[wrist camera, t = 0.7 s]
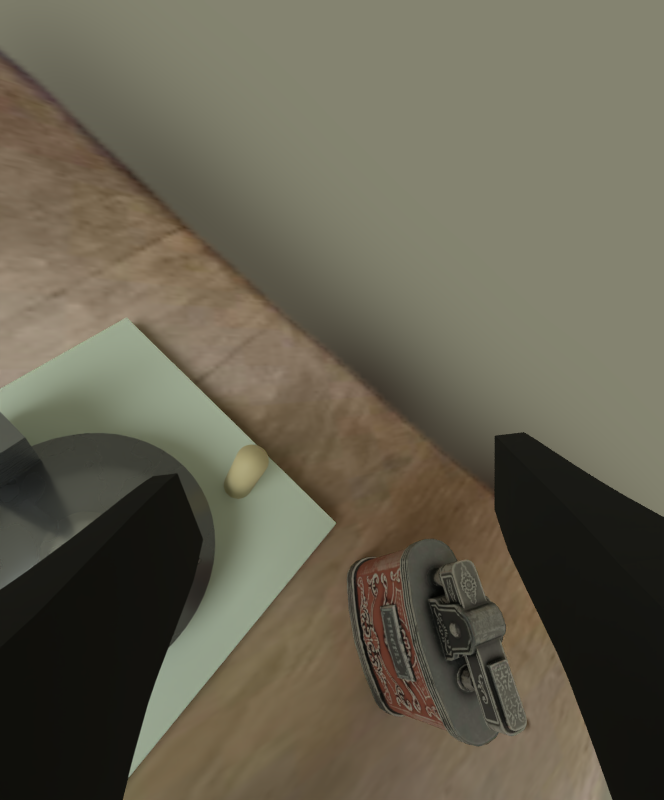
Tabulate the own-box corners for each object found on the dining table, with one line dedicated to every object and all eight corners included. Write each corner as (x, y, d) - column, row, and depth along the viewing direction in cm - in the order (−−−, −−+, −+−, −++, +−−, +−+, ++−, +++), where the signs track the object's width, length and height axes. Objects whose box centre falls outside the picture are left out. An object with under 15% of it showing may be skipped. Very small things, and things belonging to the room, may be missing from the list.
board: (52, 865, 17) (13, 953, 13) (-242, 539, 18) (-375, 511, 14) (330, 526, 27) (366, 506, 22) (127, 326, 28) (121, 268, 24)
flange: (256, 548, 23) (276, 534, 19) (59, 766, 17) (31, 806, 13) (73, 365, 24) (58, 317, 20) (-175, 511, 18) (-264, 482, 14)
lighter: (336, 565, 26) (422, 537, 18) (386, 552, 28) (487, 521, 19) (373, 724, 23) (496, 781, 15) (426, 701, 25) (566, 741, 16)
